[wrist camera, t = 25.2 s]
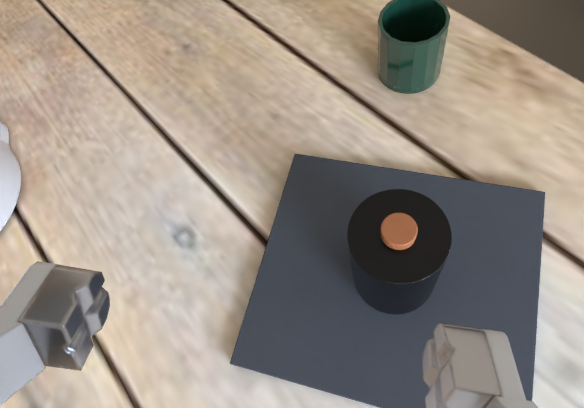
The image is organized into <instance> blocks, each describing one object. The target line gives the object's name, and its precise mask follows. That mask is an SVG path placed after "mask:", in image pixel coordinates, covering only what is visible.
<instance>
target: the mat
mask: <svg viewBox="0 0 584 408" xmlns="http://www.w3.org/2000/svg"><path fill="white" fill-rule="evenodd" d="M389 189H407V190H412V191H415V192H418V193H421V194H423V195H425V196H426V197H428V198H430V199H431V200H432V201H434V202H435V203H436V204H437V205H438V206H439V207H440V208H441V209H442V211H443V212H444V214H445V215H446V217H447V219H448V221H449V224H450V227H451V232H452V244H451V249H450V253H449V255H448V257H447V260H446V262H445V264H444V266H443V269H442V271H441V273H440V275H439V278H438V280H437V282H436V284H435V287H434V289H433V291H432V293H431V295H430V297H429V298H428V300H427V301H426V302H425V303H424V304H423V305H422V306H421V307H419V308H417V309H416V310H414V311H412V312H409V313H405V314H387V313H383V312H380V311H378V310H376V309H374V308H372V307H371V306H370V305H368V304H367V303H366V302H365V301H364V300H363V299H362V298H361V296H360V295H359V293H358V291H357V289H356V287H355V284H354V279H353V272H352V266H351V260H350V253H349V247H348V240H347V231H348V225H349V221H350V219H351V216H352V214H353V213H354V211H355V209H356V208H357V207H358V206H359V205H360V204H361V203H362V202H363V201H364V200H365V199H367V198H368V197H370V196H371V195H373V194H375V193H378V192H381V191H384V190H389ZM544 202H545V192H541V191H535V190H528V189H522V188H515V187H509V186H502V185H496V184H489V183H483V182H476V181H470V180H463V179H457V178H450V177H443V176H437V175H430V174H424V173H417V172H411V171H404V170H398V169H391V168H385V167H378V166H372V165H365V164H359V163H352V162H346V161H339V160H333V159H326V158H320V157H313V156H307V155H300V154H295V156H294V159H293V162H292V165H291V169H290V172H289V175H288V178H287V181H286V185H285V188H284V191H283V194H282V198H281V201H280V204H279V207H278V210H277V214H276V217H275V220H274V223H273V226H272V230H271V233H270V236H269V239H268V243H267V246H266V249H265V252H264V255H263V259H262V262H261V265H260V268H259V271H258V275H257V278H256V281H255V284H254V288H253V291H252V294H251V297H250V300H249V304H248V307H247V310H246V313H245V317H244V320H243V323H242V326H241V329H240V333H239V336H238V339H237V342H236V345H235V349H234V352H233V355H232V358H231V362H230V364H233V365H236V366H239V367H243V368H246V369H250V370H253V371H257V372H260V373H263V374H267V375H270V376H274V377H277V378H281V379H284V380H288V381H291V382H294V383H298V384H301V385H305V386H308V387H312V388H315V389H318V390H322V391H325V392H329V393H332V394H336V395H339V396H342V397H346V398H349V399H353V400H356V401H360V402H363V403H366V404H370V405H373V406H377V407H380V408H426V403H425V396H426V394H427V392H428V391H429V389H430V388H429V386H428V385H427V384H426V382H425V381H424V380H423V376H422V356H423V350H424V347H425V345H426V343H427V341H428V340H431V339H433V338H434V333H433V330H434V328H435V326H436V325H437V324H439V323H447V324H454V325H461V326H469V327H476V328H481V329H485V330H493V331H501V332H504V333H505V334H506V335H507V337H508V340H509V343H510V347H511V350H512V353H513V357H514V360H515V364H516V367H517V371H518V374H519V377H520V381H521V384H522V388H523V391H524V394H525V398H526V400H528V401H532V393H533V377H534V361H535V345H536V330H537V314H538V298H539V282H540V266H541V250H542V234H543V218H544Z"/></svg>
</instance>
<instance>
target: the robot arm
mask: <svg viewBox="0 0 584 408" xmlns="http://www.w3.org/2000/svg"><path fill="white" fill-rule="evenodd" d="M20 188H21V170H20V166H19V163H18V160H17V158H16V157H15V155H14V154H13V152H12V150H11V149H10V146H9V131H8V127H7V125H5V124H4V123H2V122H1V121H0V231H1V230H2V228H3V227H4V225H5V224H6V222H7V221H8V219H9V218H10V216H11V214H12V212H13V210H14V208H15V206H16V203H17V200H18V197H19V193H20ZM104 281H105V280H104V277H103V274H102V272H98V271H93V270H87V269H81V268H75V267H69V266H63V265H58V264H51V263H45V262H38V261H37V262H36V263H35V264H33V265H32V266H30V268H29V269H28V270H27V272H26V273H25V274H24V276H23V277H22V279H21V280H20V281H19V283H18V284H17V285H16V287H15V288H14V290H13V291H12V292H11V294H10V295H9V296H8V298H7V299H6V300H5V302H4V303H3V305H2V306H1V307H0V405H2V404H3V403H4V402H5V401H6V400H8V399H9V398H10V397H11V396H12V395H14V394H15V393H16V392H17V391H19V390H20V389H21V388H22V387H23V386H25V385H26V384H27V383H28V382H29V381H31V380H32V379H33V378H34V377H36V376H37V375H38V374H39V373H40V372H42V371H43V370H44V369H45V368H46V367H45V366H50V367H57V368H65V369H73V370H81V369H82V367H83V365H84V363H85V361H86V359H87V357H88V355H89V353H90V351H91V349H92V347H93V342H92V338H91V336H92V335H94V334H95V333H97V332H98V331H100V330H101V329H102V327H103V325H104V323H105V321H106V319H107V315H108V311H109V307H110V298H109V294H108V292H107V291H106V290H105V289H104V288H102V285H103V283H104ZM433 333H434V338H433V339H431V340H428V341H427V343H426V345H425V347H424V350H423V356H422V376H423V380H424V381H425V382H426V384H427V385H428V386H429V388H430V389H429V391H428V392H427V394H426V396H425V403H426V408H538V407H537V406H536V405H535V404H534V402H533V401H528V400H526V398H525V394H524V391H523V388H522V384H521V381H520V377H519V374H518V371H517V367H516V364H515V360H514V357H513V353H512V350H511V347H510V343H509V340H508V337H507V335H506V334H505V333H504V332H501V331H493V330H485V329H481V328H476V327H469V326H461V325H454V324H447V323H439V324H437V325H436V326H435V328H434V330H433Z"/></svg>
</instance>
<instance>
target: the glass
mask: <svg viewBox="0 0 584 408" xmlns="http://www.w3.org/2000/svg"><path fill="white" fill-rule="evenodd" d="M449 20H450V14H449V12H448V9H447V7H446V6H445V5H444V4H443V3H442V2H441V1H440V0H393V1H391V2H389V3H388V4H387V5H386V6H385V7H384V8H383V9H382V11H381V12H380V16H379V19H378V74H379V77H380V79H381V81H382V82H383V84H384V85H385V86H387V87H388V88H389V89H391V90H393V91H396V92H400V93H416V92H420V91H423V90H425V89H427V88H429V87H430V86H431V85H432V84H434V82H435V81H436V80H437V78H438V76H439V74H440V69H441V64H442V58H443V53H444V47H445V42H446V37H447V31H448V26H449Z"/></svg>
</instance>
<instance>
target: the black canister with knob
mask: <svg viewBox="0 0 584 408" xmlns="http://www.w3.org/2000/svg"><path fill="white" fill-rule="evenodd" d="M347 240H348V247H349V253H350V260H351V266H352V272H353V279H354V284H355V287H356V289H357V291H358V293H359V295H360V296H361V298H362V299H363V300H364V301H365V302H366V303H367V304H368V305H370V306H371V307H372V308H374V309H376V310H378V311H380V312H383V313H387V314H405V313H409V312H412V311H414V310H416V309H417V308H419V307H421V306H422V305H423V304H424V303H425V302H426V301H427V300H428V298H429V297H430V295H431V293H432V291H433V289H434V287H435V284H436V282H437V280H438V278H439V275H440V273H441V271H442V269H443V266H444V264H445V262H446V260H447V257H448V255H449V253H450V249H451V244H452V232H451V227H450V224H449V221H448V219H447V217H446V215H445V214H444V212H443V211H442V209H441V208H440V207H439V206H438V205H437V204H436V203H435V202H434V201H432V200H431V199H430V198H428V197H426V196H425V195H423V194H421V193H418V192H415V191H412V190H407V189H389V190H384V191H381V192H378V193H375V194H373V195H371V196H370V197H368V198H367V199H365V200H364V201H363V202H362V203H361V204H360V205H359V206H358V207H357V208H356V209H355V211H354V213H353V214H352V216H351V219H350V221H349V225H348V231H347Z"/></svg>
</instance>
